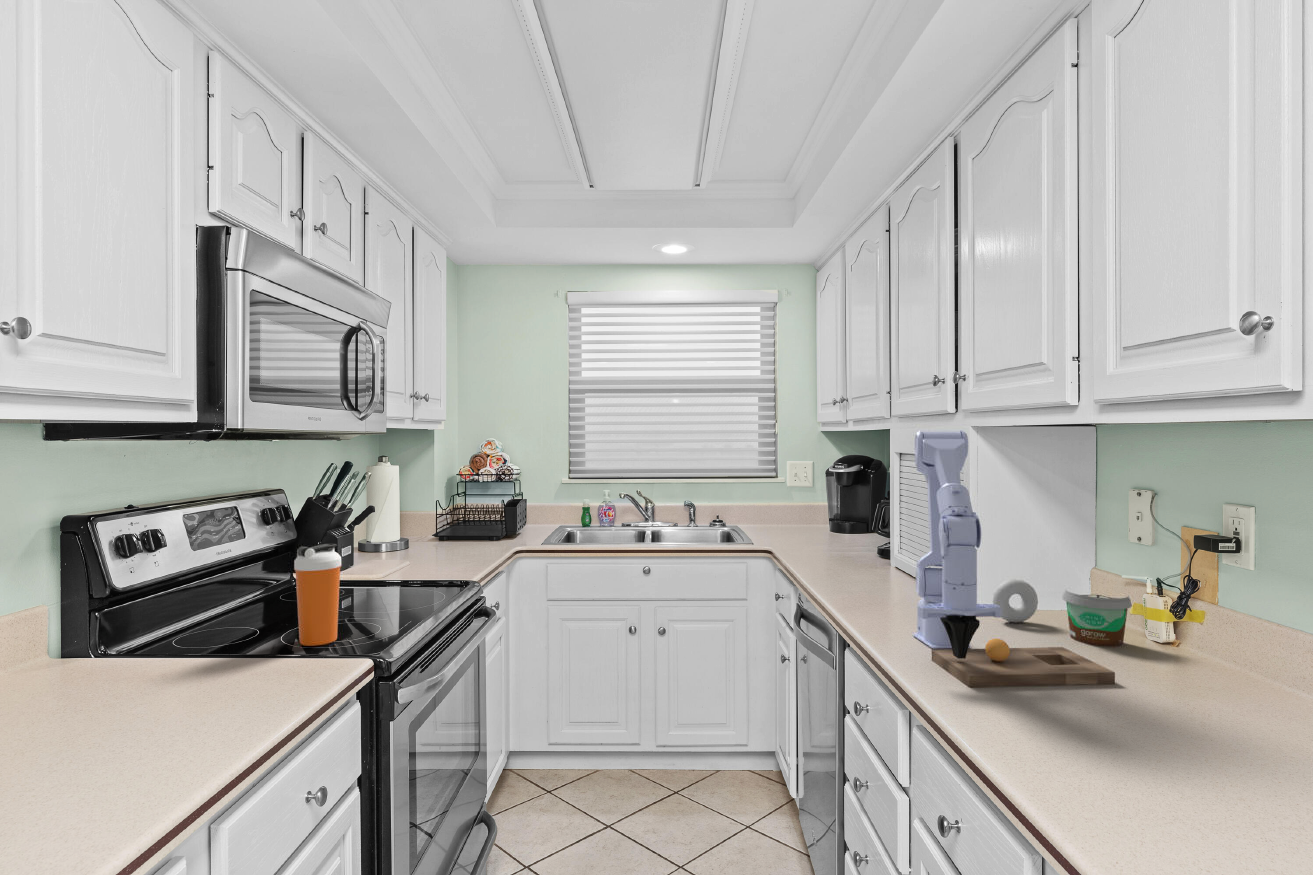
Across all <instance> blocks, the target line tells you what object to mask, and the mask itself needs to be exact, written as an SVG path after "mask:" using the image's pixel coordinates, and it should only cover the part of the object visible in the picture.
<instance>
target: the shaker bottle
mask: <svg viewBox="0 0 1313 875" xmlns="http://www.w3.org/2000/svg"><path fill="white" fill-rule="evenodd" d="M337 546H338V545H337V543H324V544H319V545H318V544H317V545H313V546H310V547H308V546H300V547H299V548H298V549H297V551H296V553H297V554H296V558H295V559H294V560H293V562H294V564H293V565H294V566H293V567H294V568H293V569H294V571H295V584H296V600H297V601H296V602H297V603H296V604H297V618H298V620H297V621H298V635H299V636H298V638H299V639H298V640H299V644H300V645H302V646H307V647H310V646H311V647H312V646H313V647H314V646H323V645H328V644H330V643H333V642H335V641H337V639H338V626H339V625H338V623H339V622H338V621H339V604H340V602H339V600H340V581H341V580H340V579H341V567H342V557H341V555H340V554H339V553H338V552H336V551H335V548H336V547H337Z"/></svg>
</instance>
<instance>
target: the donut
mask: <svg viewBox="0 0 1313 875" xmlns="http://www.w3.org/2000/svg"><path fill="white" fill-rule="evenodd" d="M1014 595H1018V596H1019V597H1020V598H1021V601H1020V603H1019V605H1018V606H1017V607H1012V606H1011V605H1010V598H1011V597H1012V596H1014ZM1038 603H1039V599H1038V595H1037V591H1036V589H1035V588H1034V587H1032V585H1031V584H1030V583H1028V582H1026V581H1024V580H1022V579H1016V578H1014V579H1013V578H1012V579H1007V580H1005V581H1003V582H1001V583H1000V584H999V585H998V586H997V587H996V589H995V591H994V592H993V597H992V604H995V605H998V606H1000V607H1001V617H1000V618H1001V619H1003V620H1005V622H1010V623H1015V624H1016V623H1017V624H1018V623H1023V622H1025V621H1027V620H1029V619H1031V617H1032V616H1034V615H1035V613H1036V611H1037V609H1038Z"/></svg>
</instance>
